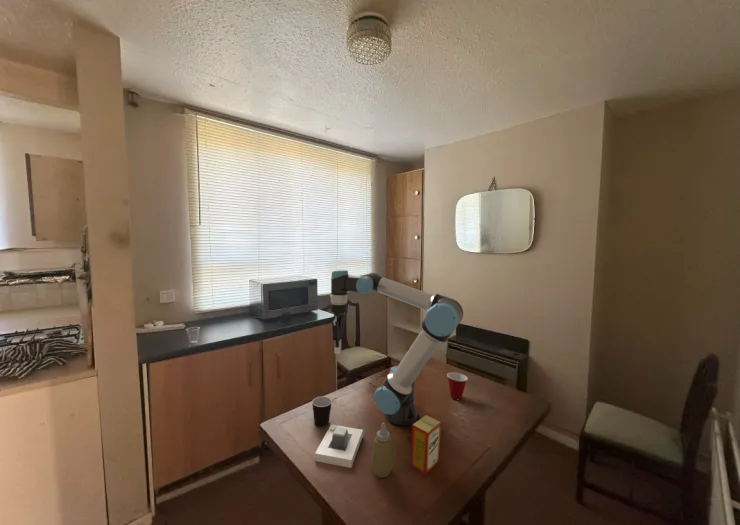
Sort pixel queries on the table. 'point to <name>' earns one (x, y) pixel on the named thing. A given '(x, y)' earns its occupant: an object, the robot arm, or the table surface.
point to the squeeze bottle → (382, 453)
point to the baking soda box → (425, 444)
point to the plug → (340, 438)
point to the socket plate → (339, 456)
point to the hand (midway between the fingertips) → (337, 353)
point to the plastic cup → (456, 384)
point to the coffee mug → (321, 411)
